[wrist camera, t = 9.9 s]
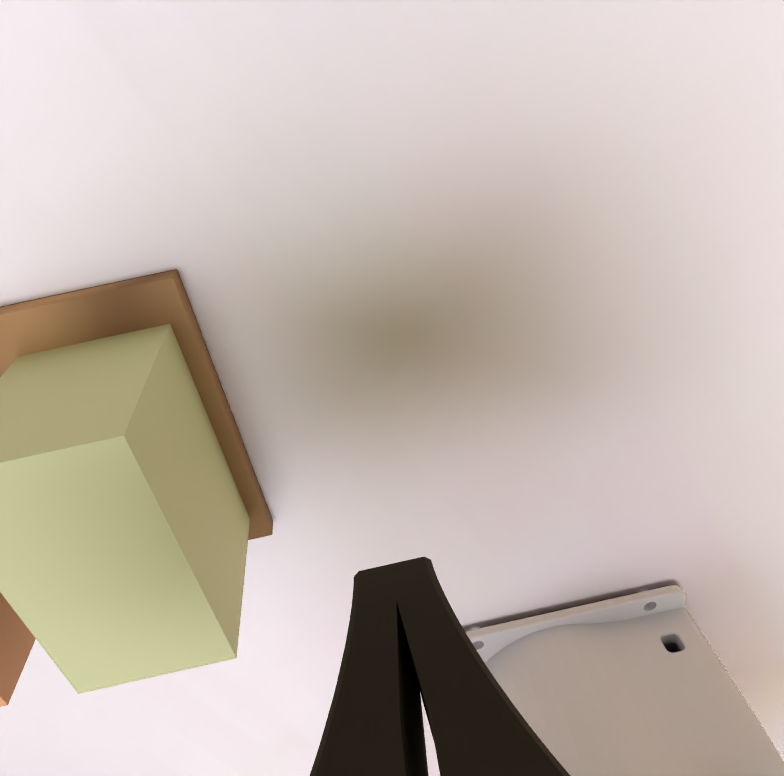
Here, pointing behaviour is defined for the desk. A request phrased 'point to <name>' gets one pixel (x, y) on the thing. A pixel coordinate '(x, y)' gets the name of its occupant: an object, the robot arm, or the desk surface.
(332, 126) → the desk surface
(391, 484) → the desk surface
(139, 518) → the sage book
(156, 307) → the walnut board
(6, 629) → the terracotta book
